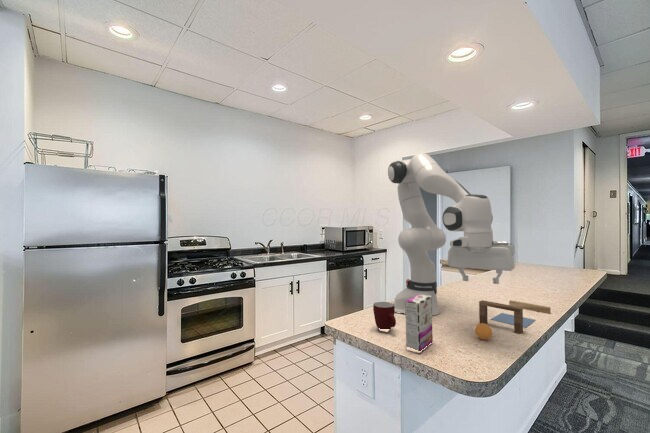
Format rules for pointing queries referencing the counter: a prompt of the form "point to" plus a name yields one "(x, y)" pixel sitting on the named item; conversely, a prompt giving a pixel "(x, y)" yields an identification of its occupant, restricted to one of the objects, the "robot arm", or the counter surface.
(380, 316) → the mug
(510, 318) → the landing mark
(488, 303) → the bridge
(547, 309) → the wall
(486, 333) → the ball
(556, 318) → the counter surface
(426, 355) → the counter surface
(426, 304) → the candy bar box
